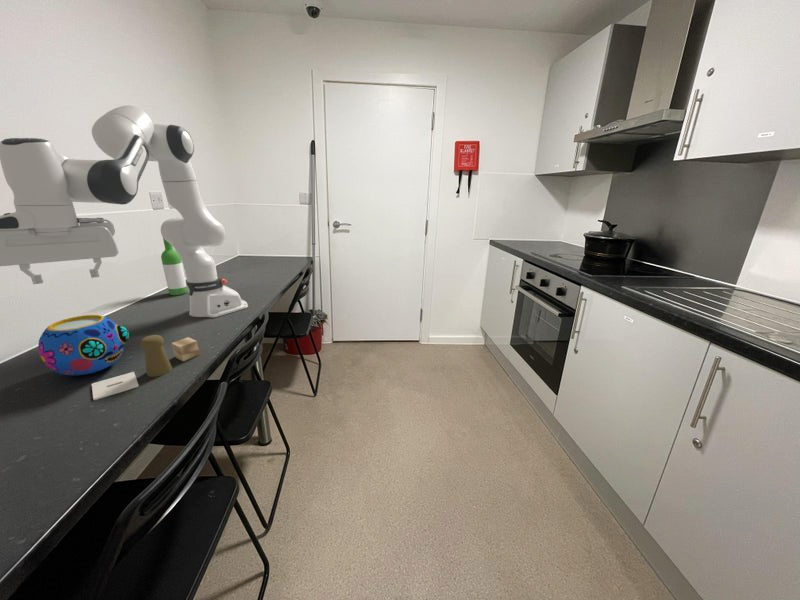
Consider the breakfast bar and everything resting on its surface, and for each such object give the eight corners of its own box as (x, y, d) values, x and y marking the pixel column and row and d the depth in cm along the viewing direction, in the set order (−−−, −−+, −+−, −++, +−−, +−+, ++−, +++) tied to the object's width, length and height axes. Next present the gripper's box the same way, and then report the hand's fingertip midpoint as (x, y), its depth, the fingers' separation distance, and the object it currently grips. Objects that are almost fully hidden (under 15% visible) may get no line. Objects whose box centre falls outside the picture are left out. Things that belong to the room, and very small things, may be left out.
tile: (134, 373, 93) (133, 371, 93) (138, 386, 87) (138, 384, 87) (92, 385, 87) (91, 383, 87) (93, 400, 81) (93, 398, 81)
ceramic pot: (95, 387, 86) (78, 336, 81) (30, 385, 87) (8, 334, 82) (145, 355, 103) (133, 311, 98) (90, 354, 103) (75, 310, 98)
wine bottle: (168, 297, 156) (154, 234, 146) (170, 292, 163) (156, 231, 153) (187, 294, 160) (174, 233, 150) (188, 290, 166) (176, 231, 156)
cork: (159, 378, 91) (150, 342, 87) (141, 375, 92) (131, 340, 89) (177, 367, 97) (169, 333, 93) (160, 364, 98) (151, 331, 94)
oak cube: (191, 351, 106) (188, 337, 105) (199, 355, 104) (196, 340, 102) (174, 357, 102) (171, 343, 101) (183, 361, 100) (179, 347, 98)
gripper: (110, 216, 80) (124, 271, 84) (-21, 219, 67) (4, 284, 71) (112, 218, 76) (126, 275, 80) (-27, 221, 62) (-1, 290, 67)
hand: (68, 280), depth 75 cm, fingers open, 8 cm apart
